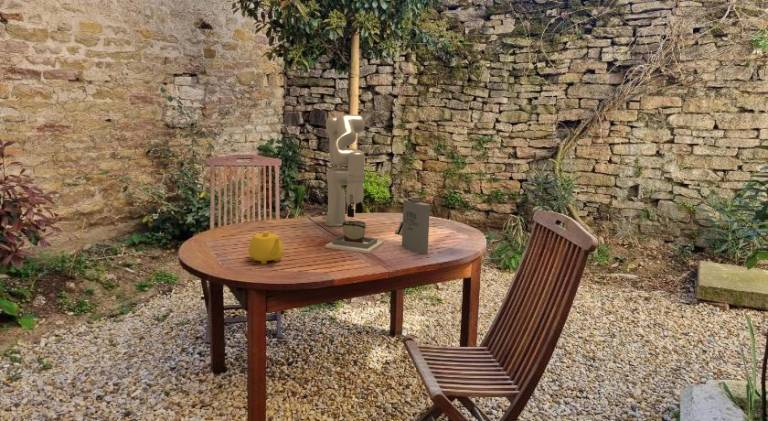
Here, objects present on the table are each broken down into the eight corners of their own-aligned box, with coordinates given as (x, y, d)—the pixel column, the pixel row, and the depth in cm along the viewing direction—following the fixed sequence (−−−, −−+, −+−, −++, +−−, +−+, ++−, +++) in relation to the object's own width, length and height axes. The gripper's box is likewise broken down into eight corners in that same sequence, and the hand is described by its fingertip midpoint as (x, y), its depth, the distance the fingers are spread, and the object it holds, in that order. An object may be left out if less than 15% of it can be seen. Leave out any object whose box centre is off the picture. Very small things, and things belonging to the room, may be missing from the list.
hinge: (417, 229, 275) (422, 213, 270) (422, 233, 272) (428, 217, 267) (394, 233, 264) (399, 216, 260) (399, 238, 261) (404, 221, 257)
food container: (370, 242, 240) (370, 221, 238) (365, 245, 234) (365, 224, 232) (346, 239, 244) (346, 219, 242) (341, 242, 238) (341, 221, 236)
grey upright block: (399, 245, 240) (400, 193, 235) (406, 244, 243) (408, 193, 238) (421, 254, 226) (423, 199, 221) (429, 253, 228) (431, 199, 224)
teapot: (265, 269, 199) (265, 239, 196) (240, 258, 213) (240, 229, 211) (294, 263, 208) (294, 234, 206) (268, 252, 222) (268, 225, 220)
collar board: (325, 247, 233) (325, 240, 232) (342, 238, 249) (342, 232, 249) (368, 253, 225) (369, 246, 225) (383, 244, 242) (383, 237, 241)
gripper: (356, 175, 240) (355, 210, 244) (340, 180, 225) (339, 217, 228) (370, 177, 238) (369, 212, 242) (355, 182, 222) (354, 219, 226)
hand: (355, 214), depth 235 cm, fingers open, 9 cm apart
